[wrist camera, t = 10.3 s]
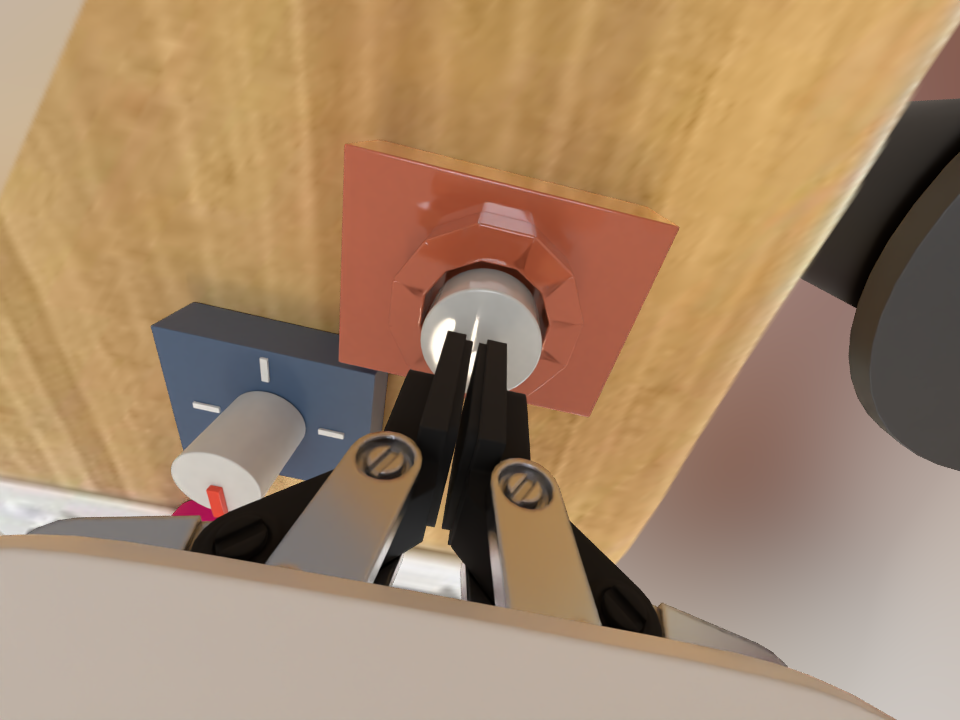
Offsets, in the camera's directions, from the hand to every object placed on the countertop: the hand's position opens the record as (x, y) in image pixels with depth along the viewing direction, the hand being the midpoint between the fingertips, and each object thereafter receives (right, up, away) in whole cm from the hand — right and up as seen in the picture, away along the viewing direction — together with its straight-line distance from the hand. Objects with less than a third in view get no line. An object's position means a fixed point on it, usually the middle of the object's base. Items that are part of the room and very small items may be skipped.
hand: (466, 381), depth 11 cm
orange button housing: (+1, +5, +8) cm, 10 cm away
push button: (+1, +2, +3) cm, 4 cm away
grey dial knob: (-11, -3, +10) cm, 15 cm away
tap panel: (-11, -1, +13) cm, 17 cm away
